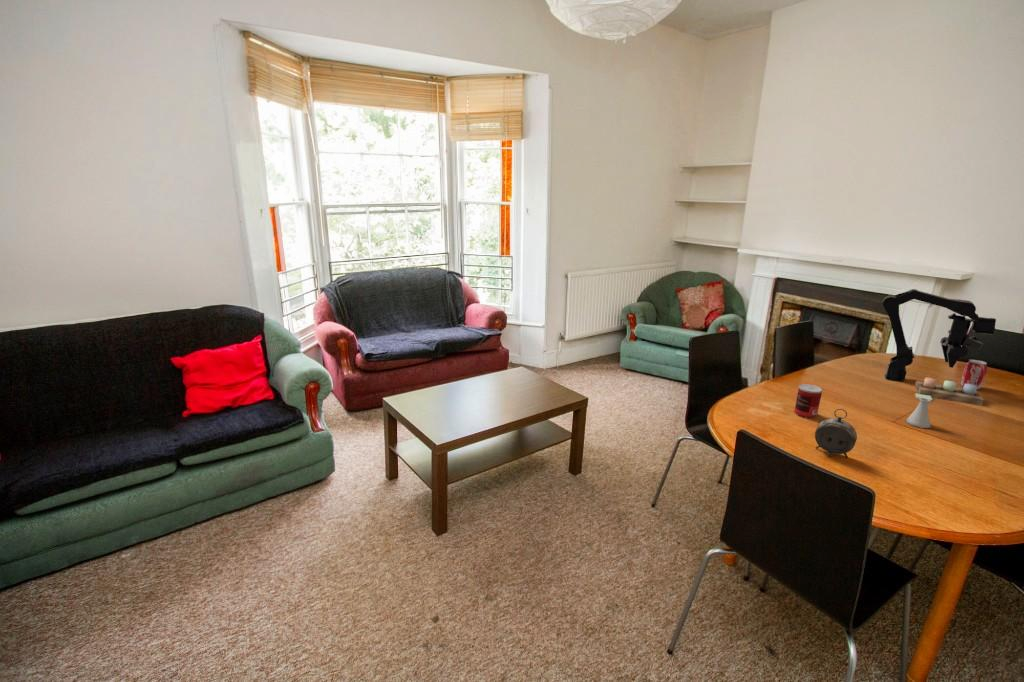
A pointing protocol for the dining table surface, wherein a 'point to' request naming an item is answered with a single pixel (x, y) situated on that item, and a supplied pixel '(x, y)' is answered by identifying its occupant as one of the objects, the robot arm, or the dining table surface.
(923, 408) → the flask
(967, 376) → the soda can
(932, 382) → the terracotta button
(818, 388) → the canned food
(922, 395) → the chip
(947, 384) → the sage button
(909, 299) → the robot arm
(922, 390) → the button board
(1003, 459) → the dining table surface
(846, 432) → the alarm clock
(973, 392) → the grey rounded piece
